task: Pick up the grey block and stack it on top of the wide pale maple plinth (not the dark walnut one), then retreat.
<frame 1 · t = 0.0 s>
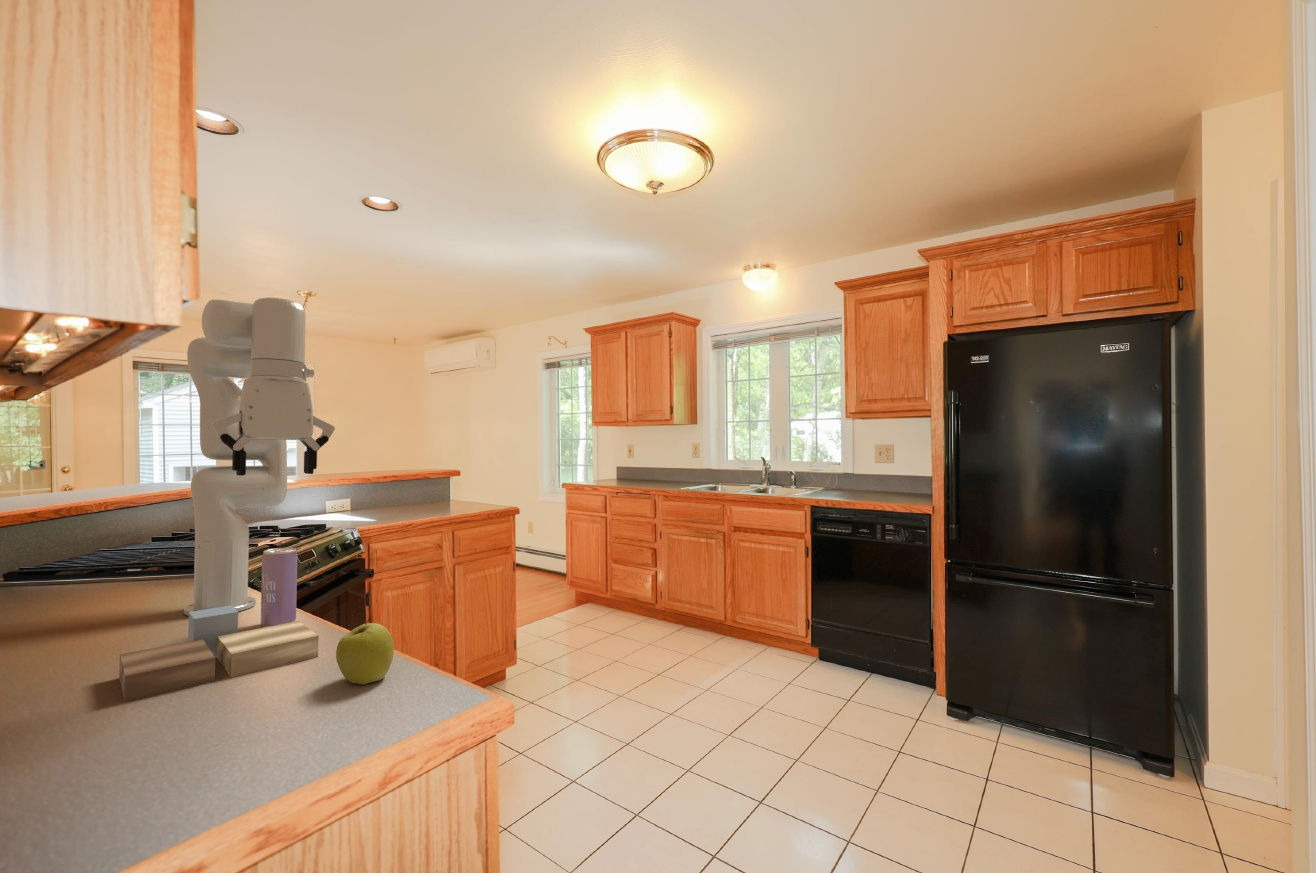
hand: (276, 474, 94), 31 cm above the counter, fingers open, 9 cm apart
grey block: (212, 651, 98), on the counter
maple plinth: (267, 659, 96), on the counter
beverage can: (278, 625, 114), on the counter
apple: (364, 680, 86), on the counter
walnut plinth: (166, 681, 86), on the counter
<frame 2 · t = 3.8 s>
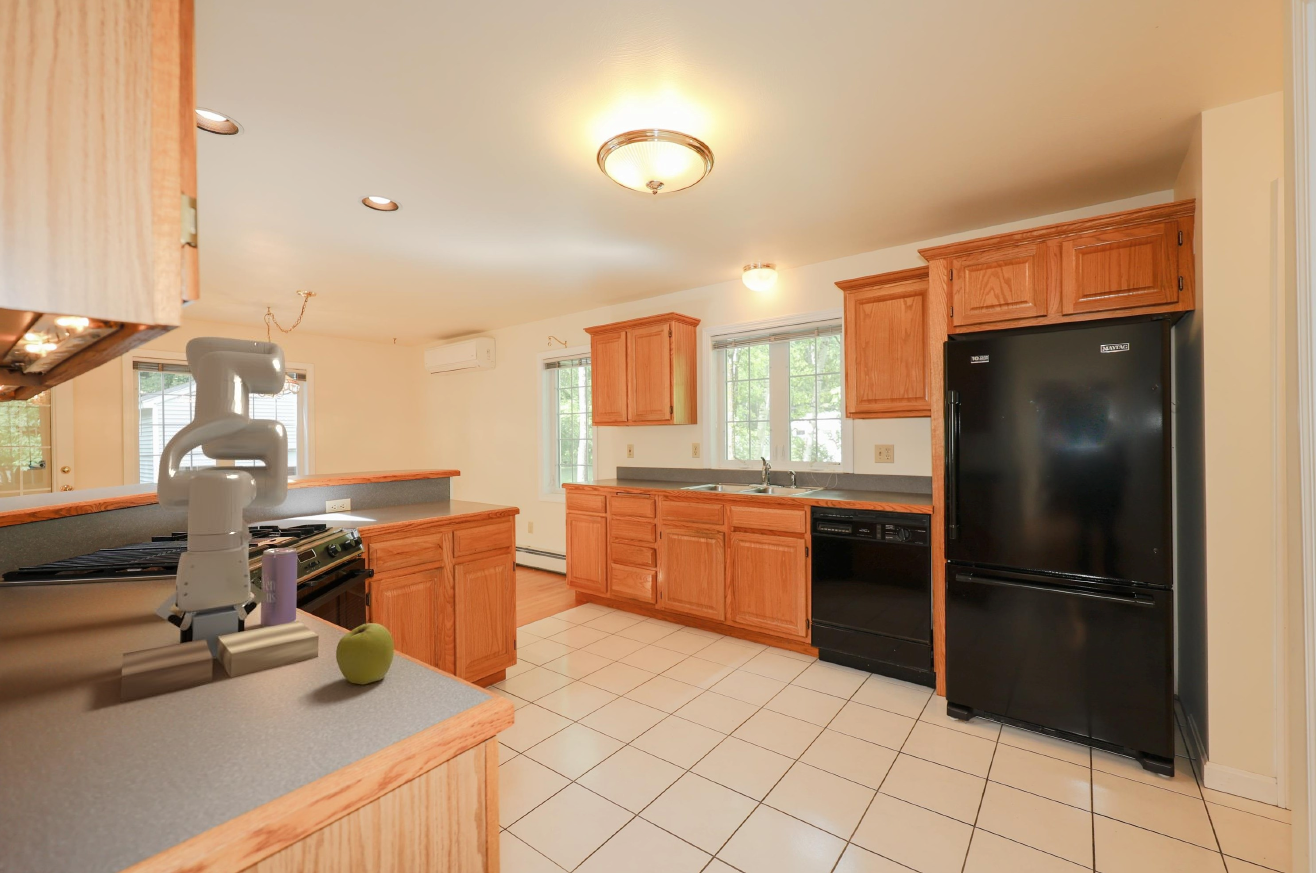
hand: (212, 645, 98), 1 cm above the counter, fingers closed on grey block, 6 cm apart
grey block: (212, 651, 98), on the counter, touching gripper
everything else where it was.
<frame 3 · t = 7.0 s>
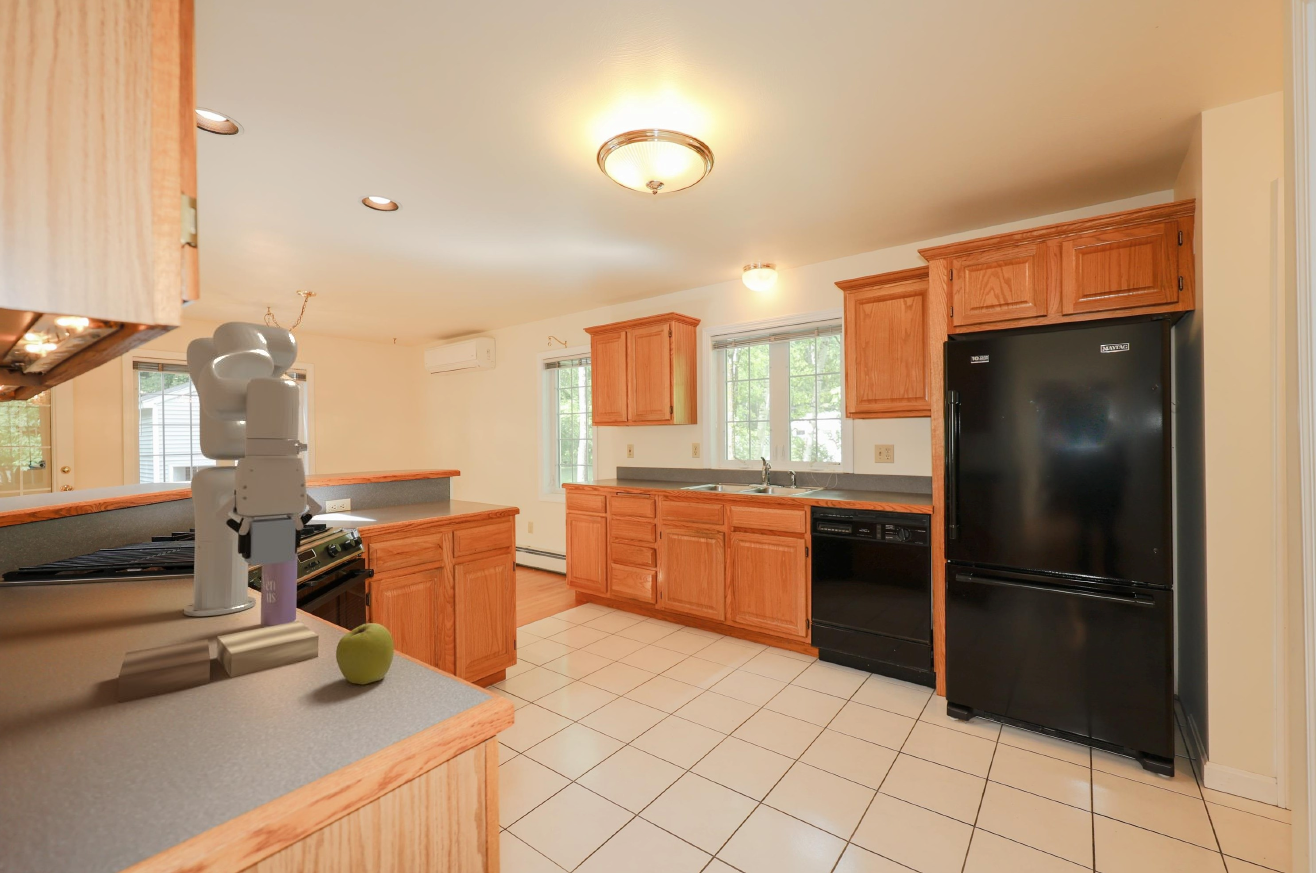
hand: (269, 553, 96), 17 cm above the counter, fingers closed on grey block, 6 cm apart
grey block: (269, 560, 96), point 16 cm above the counter, touching gripper
everything else where it was.
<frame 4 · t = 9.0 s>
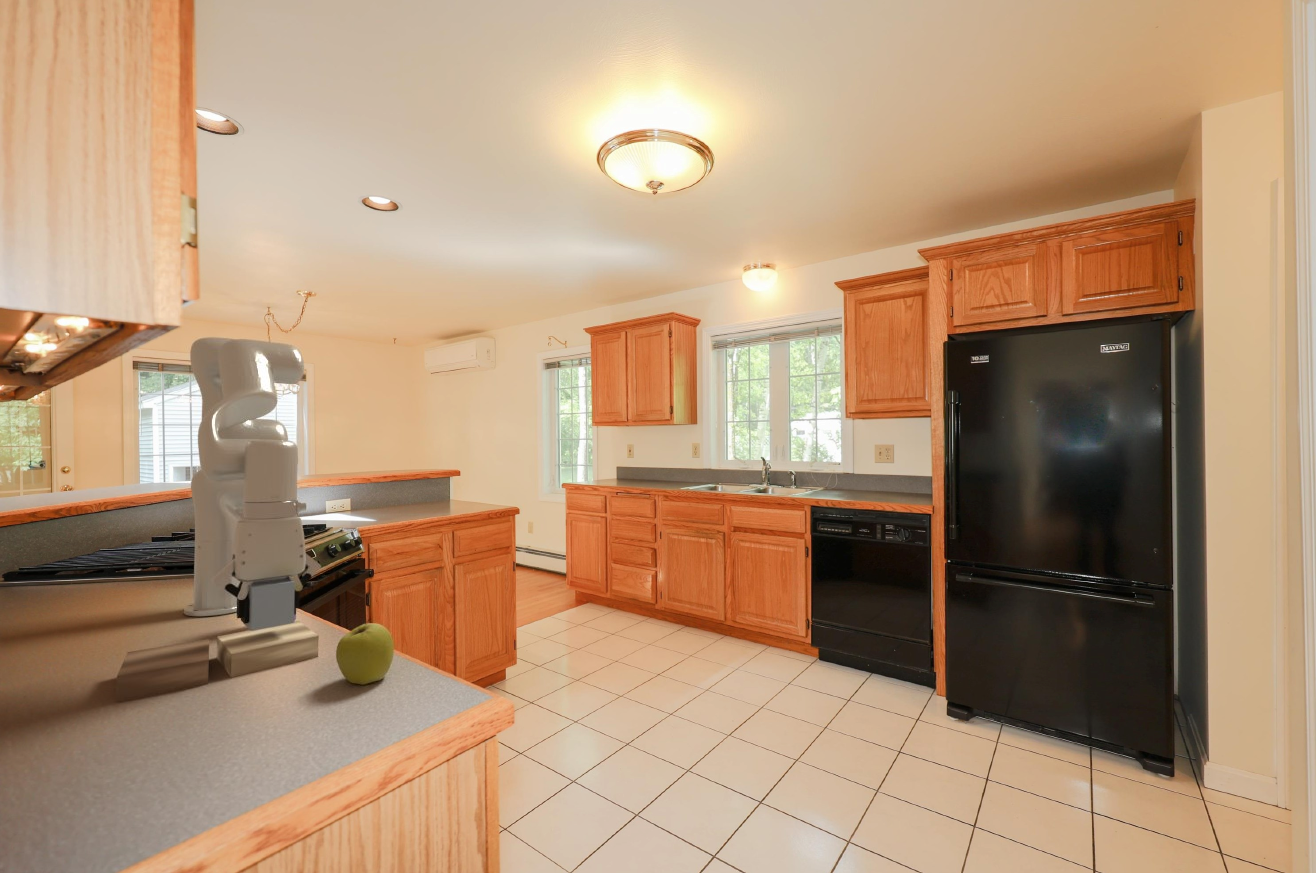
hand: (268, 616, 96), 7 cm above the counter, fingers closed on grey block, 6 cm apart
grey block: (268, 623, 96), point 6 cm above the counter, touching gripper
everything else where it was.
when the fingers open (5 cm above the counter, at t = 10.5 s): grey block stays where it is, resting on maple plinth.
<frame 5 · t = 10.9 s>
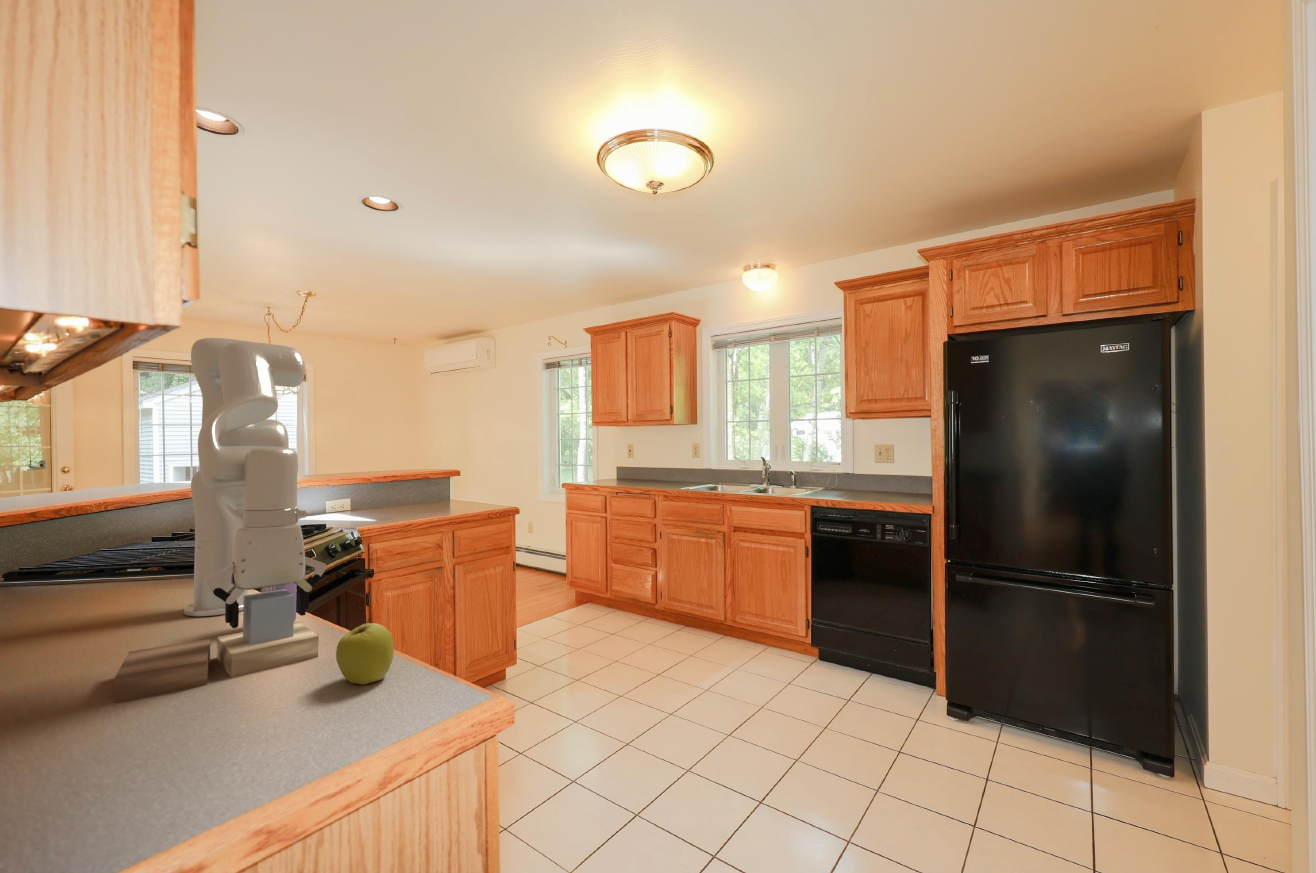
hand: (268, 619, 96), 6 cm above the counter, fingers open, 9 cm apart
grey block: (268, 636, 96), point 3 cm above the counter, touching maple plinth
maple plinth: (267, 660, 96), on the counter, touching grey block
everything else where it was.
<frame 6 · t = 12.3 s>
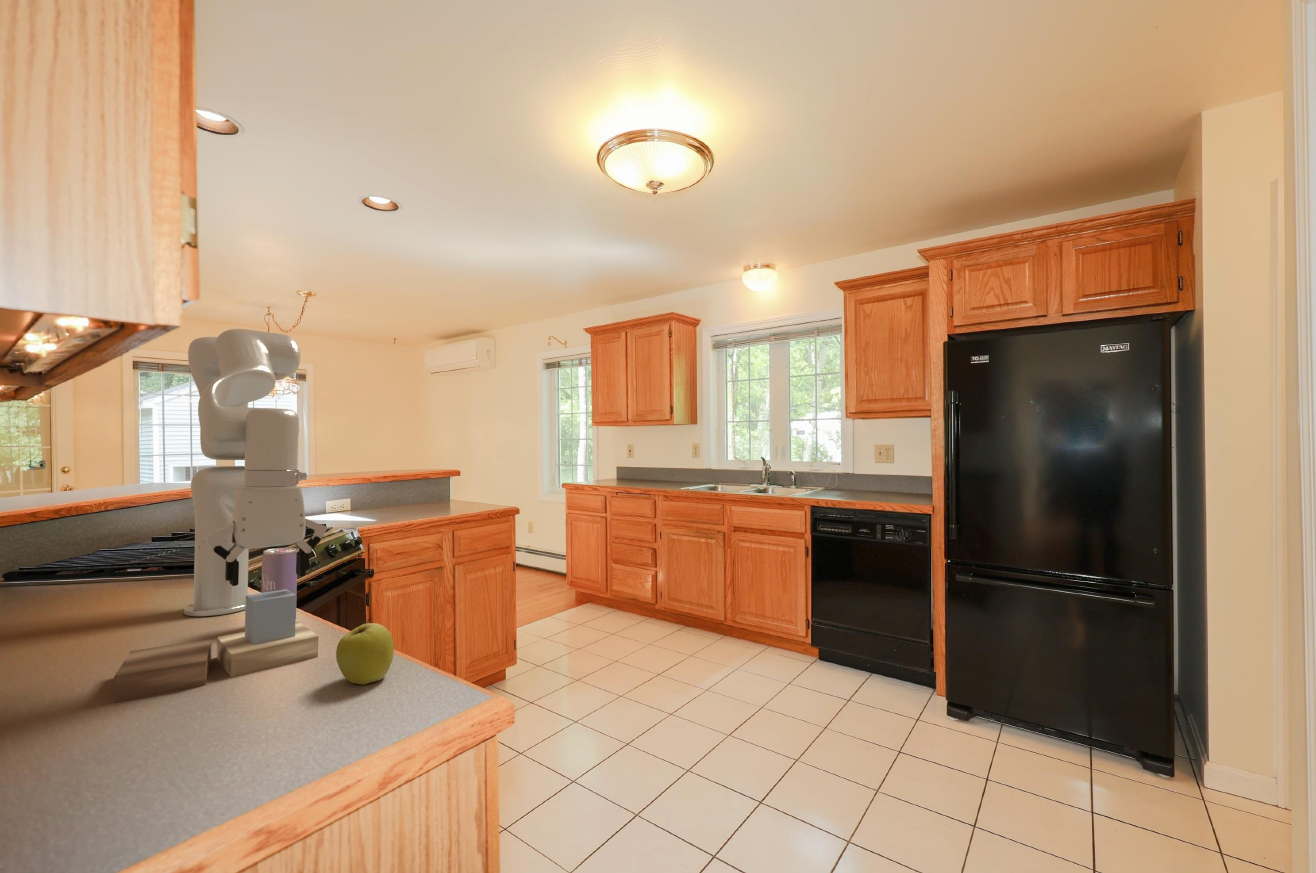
hand: (268, 579, 96), 13 cm above the counter, fingers open, 9 cm apart
nothing on the counter moved.
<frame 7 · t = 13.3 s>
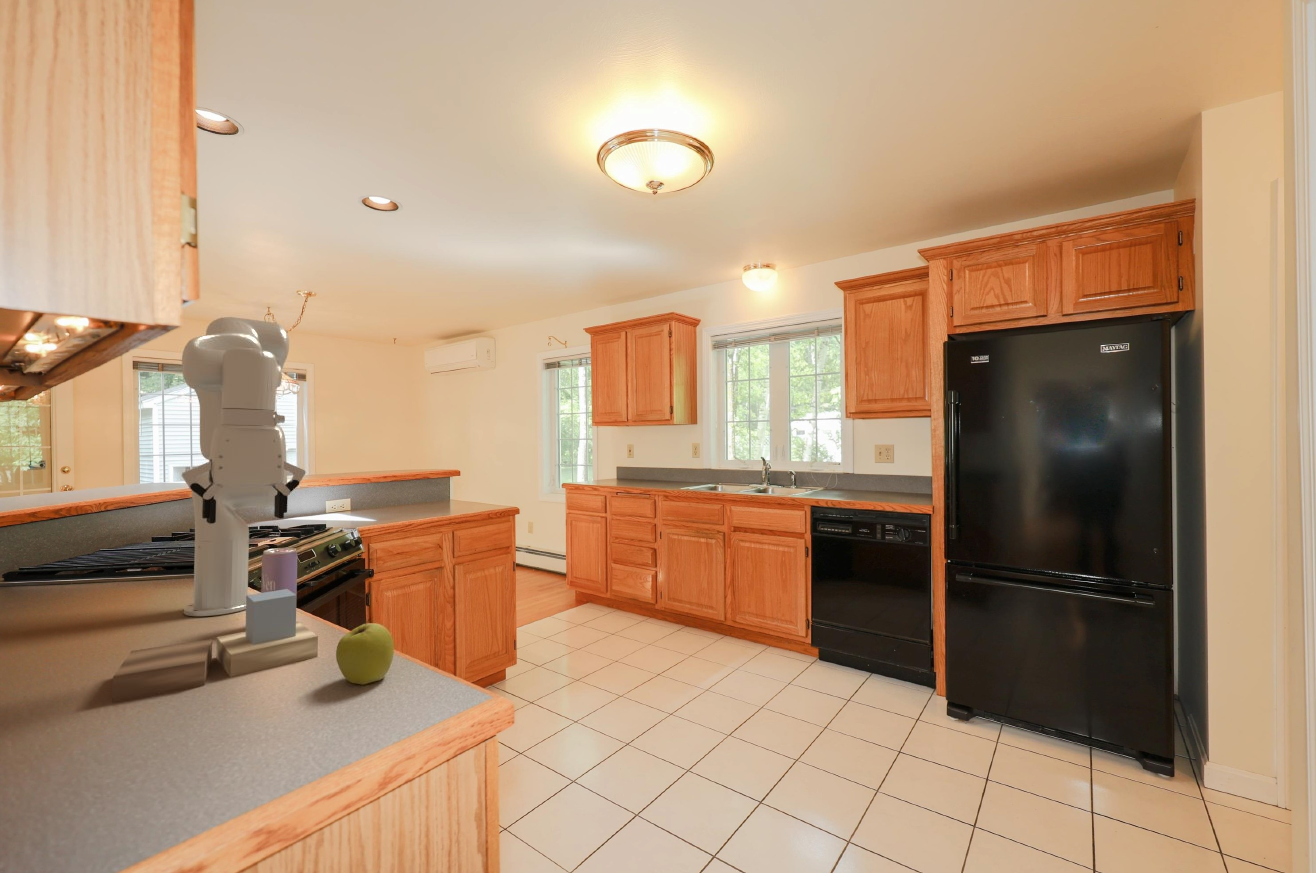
hand: (246, 520, 96), 23 cm above the counter, fingers open, 9 cm apart
nothing on the counter moved.
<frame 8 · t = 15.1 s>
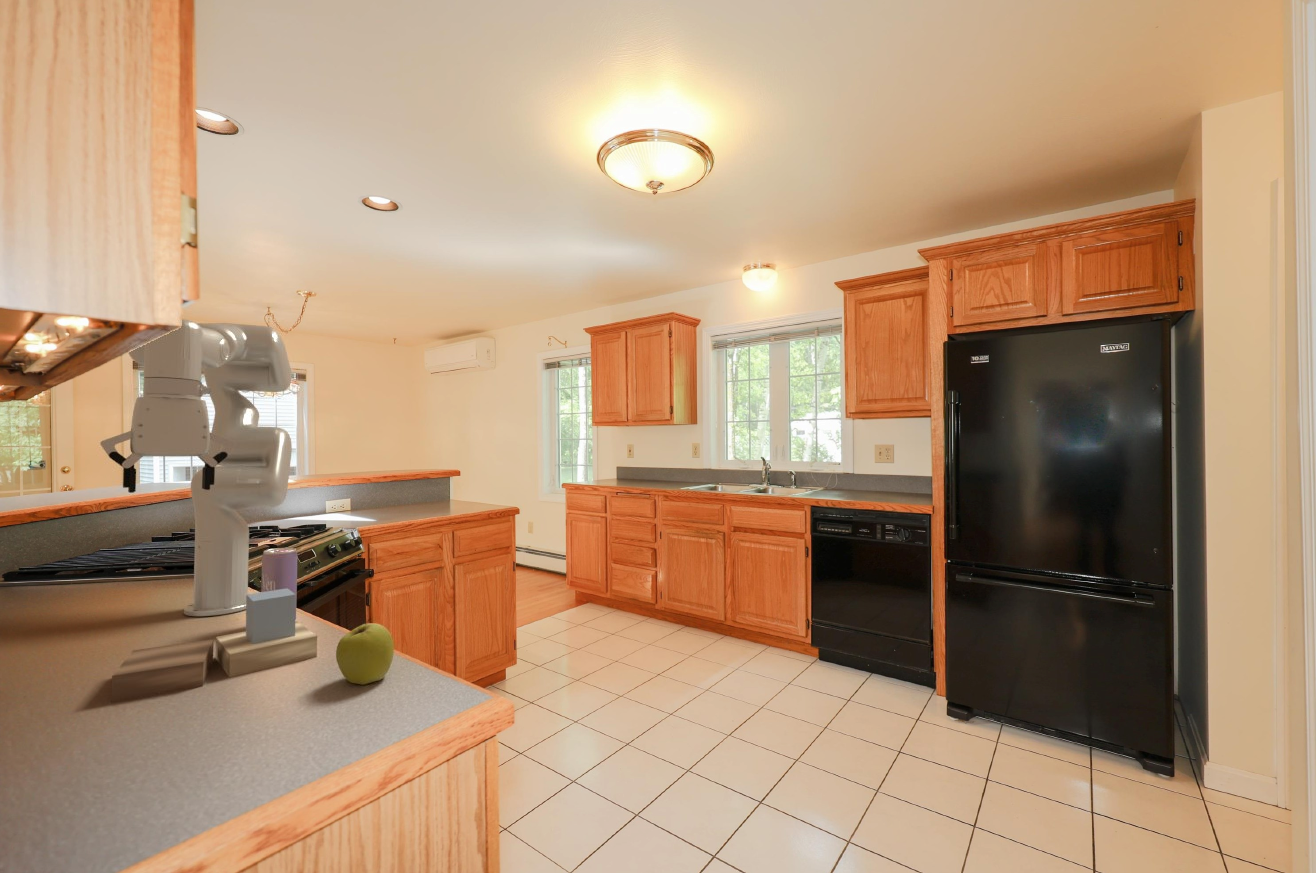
hand: (170, 490, 96), 28 cm above the counter, fingers open, 9 cm apart
nothing on the counter moved.
at the end: grey block inside the target area on the maple plinth (0.5 cm from its centre), point 4.0 cm above the maple plinth's base; grey block tilted 0°; the gripper is holding nothing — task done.
